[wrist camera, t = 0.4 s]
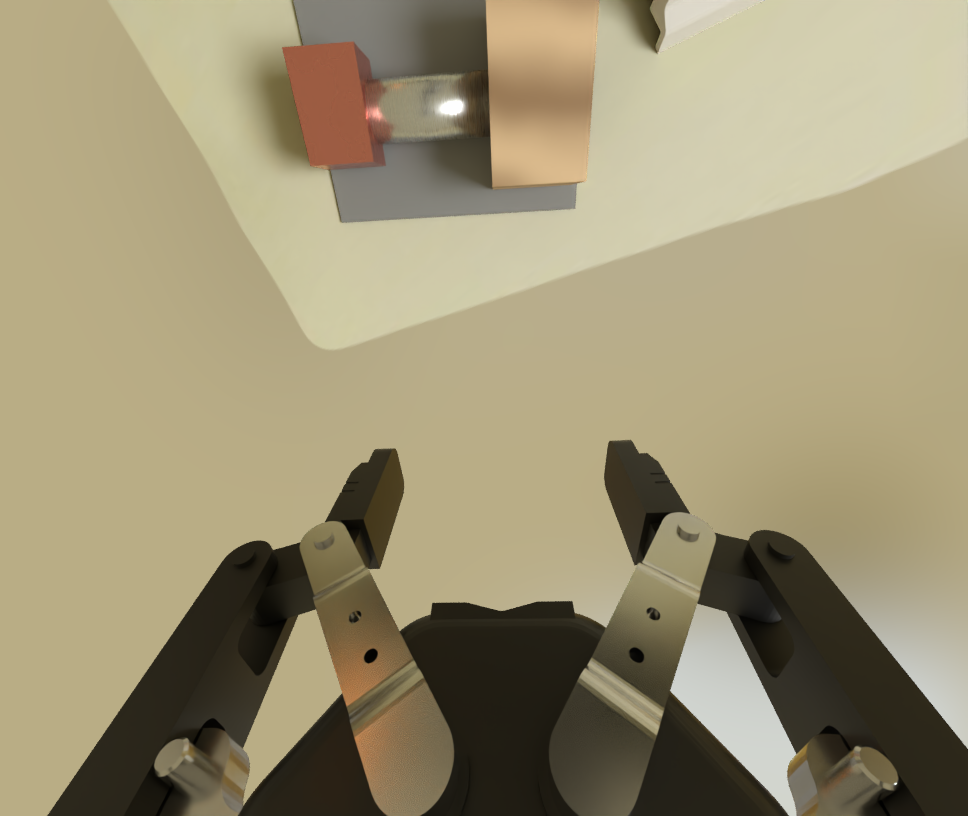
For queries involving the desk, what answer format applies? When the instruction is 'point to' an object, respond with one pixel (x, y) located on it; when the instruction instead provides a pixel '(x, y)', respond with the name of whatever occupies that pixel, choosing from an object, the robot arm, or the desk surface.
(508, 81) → the wooden block
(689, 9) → the white rounded piece
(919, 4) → the desk surface
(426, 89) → the pin
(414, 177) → the mat
